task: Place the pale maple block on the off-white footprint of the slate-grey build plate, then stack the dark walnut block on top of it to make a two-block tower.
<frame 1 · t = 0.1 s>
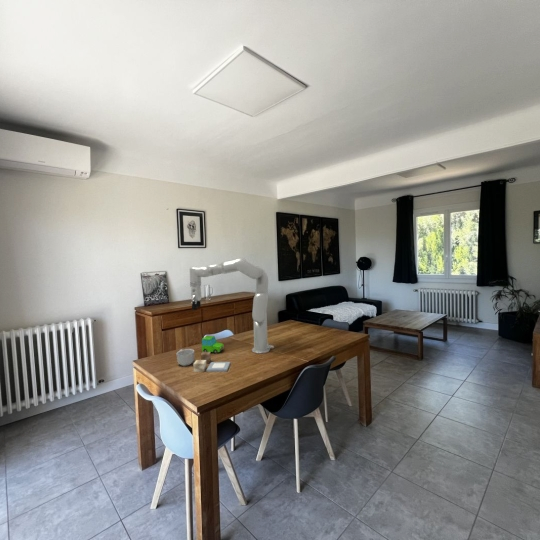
hand: (196, 308, 199), 31 cm above the table, fingers open, 9 cm apart
teacup: (185, 363, 178), on the table
block base: (200, 370, 167), on the table
build plate: (218, 367, 170), on the table
toy car: (213, 351, 200), on the table
block top: (206, 362, 179), on the table
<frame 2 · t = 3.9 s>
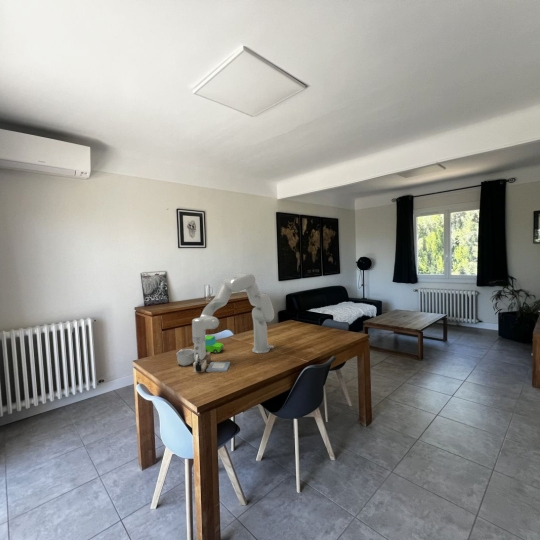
hand: (200, 368, 167), 1 cm above the table, fingers closed on block base, 6 cm apart
block base: (200, 369, 167), on the table, touching gripper
everything else where it was.
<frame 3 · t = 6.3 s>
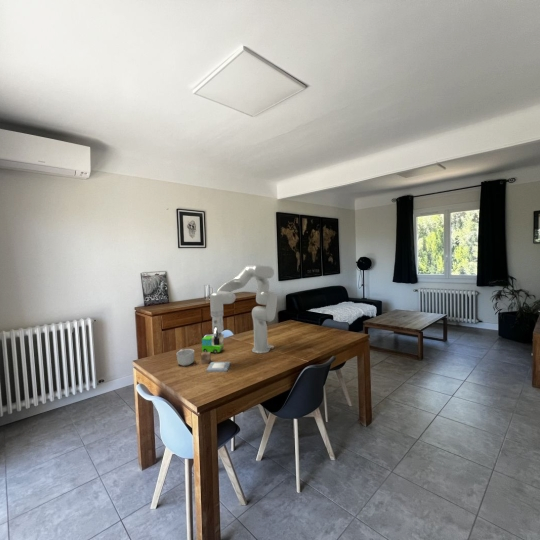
hand: (217, 342, 169), 15 cm above the table, fingers closed on block base, 6 cm apart
block base: (217, 344, 169), point 14 cm above the table, touching gripper
everything else where it was.
when the fingers open (3 cm above the table, at t = 8.9 s): block base drops 1 cm, resting on build plate.
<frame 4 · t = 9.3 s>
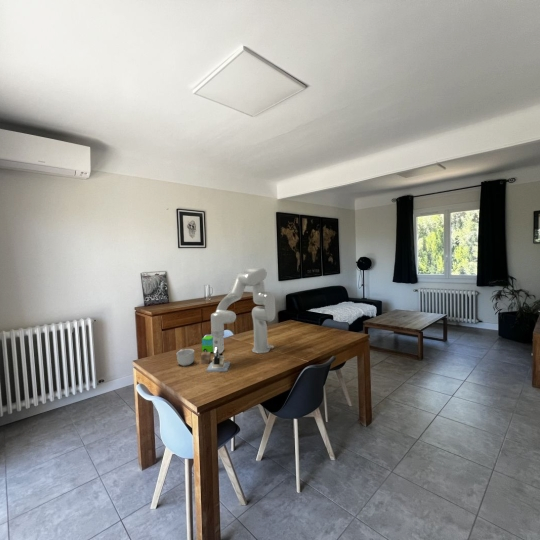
hand: (218, 361, 170), 4 cm above the table, fingers open, 9 cm apart
block base: (218, 365, 170), point 1 cm above the table, touching build plate
everything else where it was.
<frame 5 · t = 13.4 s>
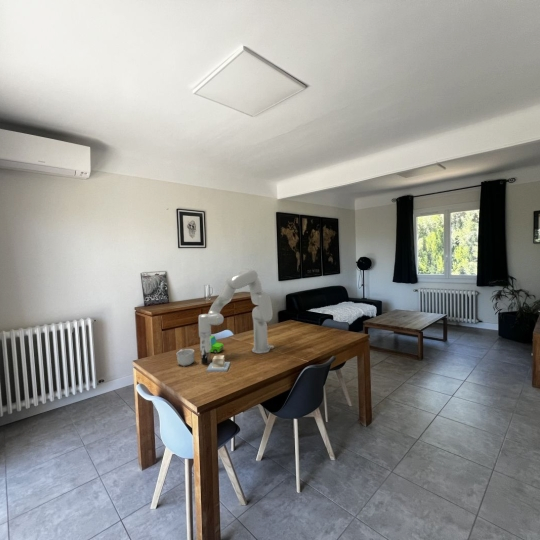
hand: (205, 361, 179), 0 cm above the table, fingers closed on block top, 4 cm apart
block top: (205, 362, 179), on the table, touching gripper
everything else where it was.
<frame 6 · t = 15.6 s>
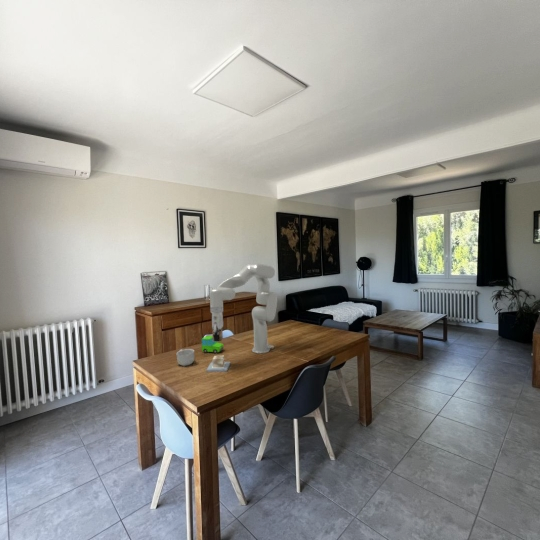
hand: (217, 339, 169), 17 cm above the table, fingers closed on block top, 4 cm apart
block top: (217, 340, 169), point 17 cm above the table, touching gripper
everything else where it was.
when the fingers open (8 cm above the table, at t = 18.2 s): block top stays where it is, resting on block base.
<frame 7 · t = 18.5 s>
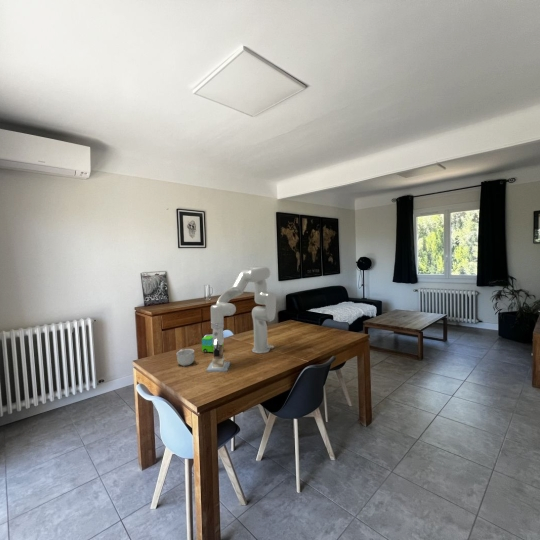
hand: (218, 353, 170), 8 cm above the table, fingers open, 8 cm apart
block base: (218, 365, 170), point 1 cm above the table, touching block top, build plate
block top: (218, 357, 170), point 6 cm above the table, touching block base
everything else where it was.
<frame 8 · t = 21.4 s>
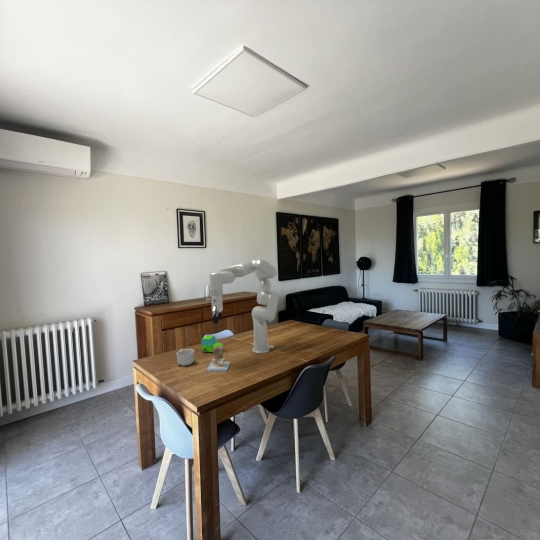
hand: (217, 321, 169), 28 cm above the table, fingers open, 9 cm apart
nothing on the table moved.
at the end: block base inside the target area on the build plate (0.1 cm from its centre), point 1.3 cm above the build plate's base; block top 0.0 cm off-centre on the block base, point 5.0 cm above the block base's base; block top tilted 0° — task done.
